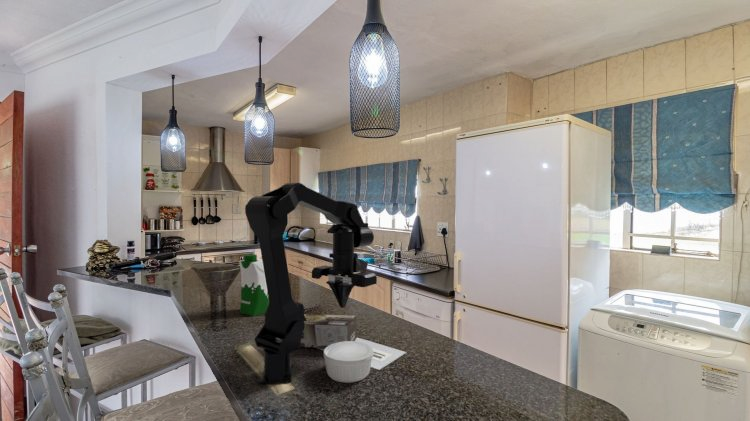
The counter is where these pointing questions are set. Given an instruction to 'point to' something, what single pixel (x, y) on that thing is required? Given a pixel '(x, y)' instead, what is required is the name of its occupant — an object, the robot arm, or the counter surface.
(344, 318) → the coffee box
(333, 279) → the robot arm
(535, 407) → the counter surface
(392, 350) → the panel
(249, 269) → the milk carton
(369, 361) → the ramekin
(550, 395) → the counter surface
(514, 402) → the counter surface
